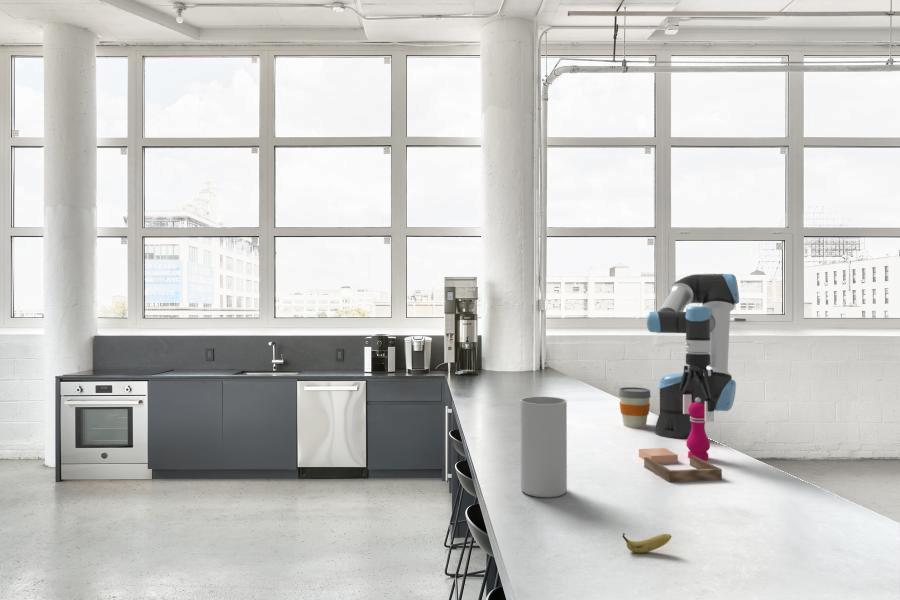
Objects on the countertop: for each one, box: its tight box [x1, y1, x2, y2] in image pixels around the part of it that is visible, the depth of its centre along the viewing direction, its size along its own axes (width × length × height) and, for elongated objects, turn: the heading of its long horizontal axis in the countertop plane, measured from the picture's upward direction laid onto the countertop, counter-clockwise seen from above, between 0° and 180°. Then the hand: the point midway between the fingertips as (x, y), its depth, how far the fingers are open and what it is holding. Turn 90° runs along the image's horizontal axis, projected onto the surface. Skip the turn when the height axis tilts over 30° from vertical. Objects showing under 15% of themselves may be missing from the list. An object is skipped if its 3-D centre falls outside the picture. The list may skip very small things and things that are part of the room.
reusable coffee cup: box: [618, 386, 652, 429], centre depth 252 cm, size 12×12×15 cm
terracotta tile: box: [638, 447, 679, 465], centre depth 199 cm, size 9×9×3 cm
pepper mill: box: [685, 398, 711, 461], centre depth 201 cm, size 7×7×20 cm
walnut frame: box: [643, 455, 723, 483], centre depth 184 cm, size 16×16×3 cm
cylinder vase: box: [520, 396, 568, 499], centre depth 168 cm, size 12×12×25 cm
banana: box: [621, 532, 672, 554], centre depth 127 cm, size 10×2×4 cm, turn 87°
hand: (697, 417), depth 201 cm, fingers open, 13 cm apart
